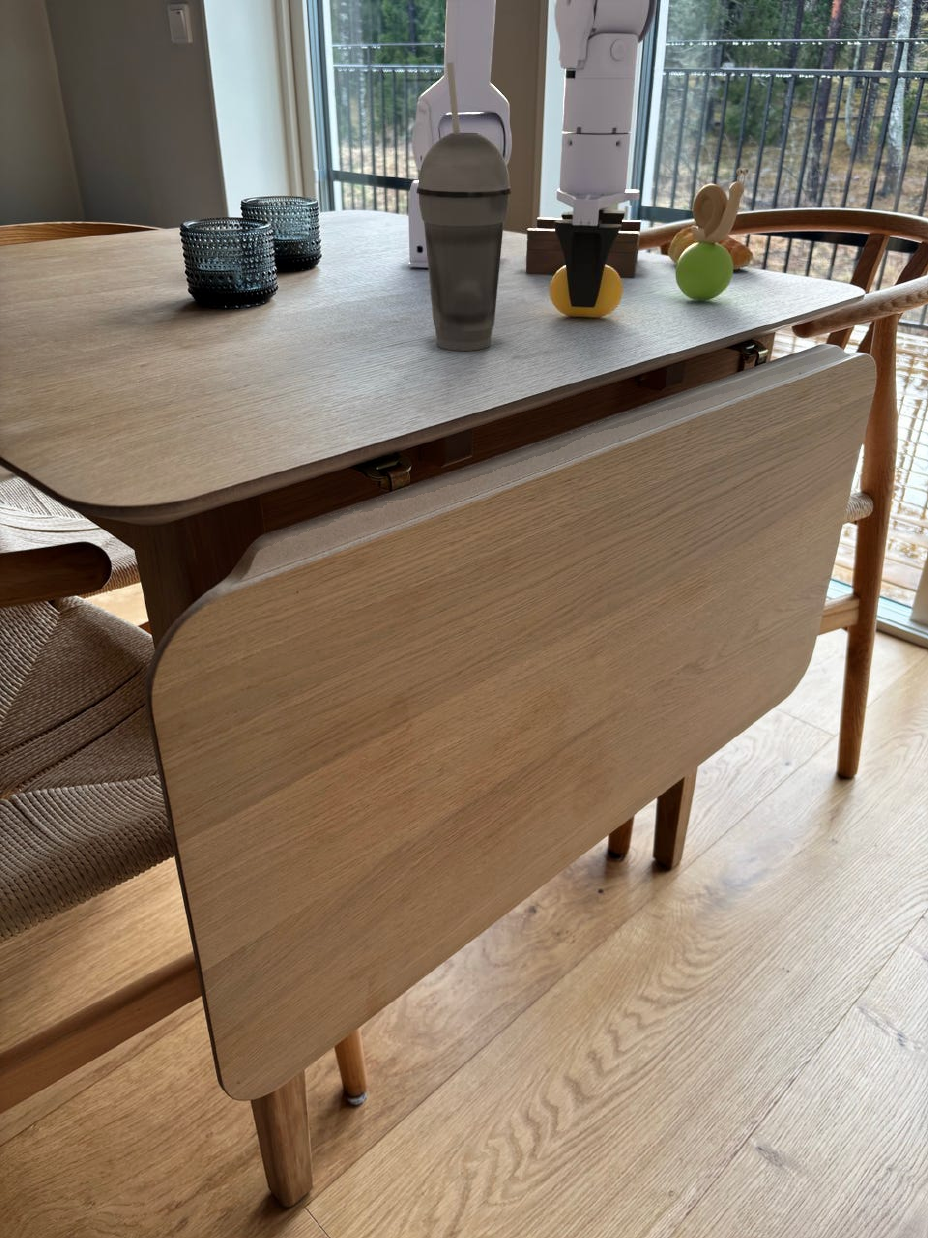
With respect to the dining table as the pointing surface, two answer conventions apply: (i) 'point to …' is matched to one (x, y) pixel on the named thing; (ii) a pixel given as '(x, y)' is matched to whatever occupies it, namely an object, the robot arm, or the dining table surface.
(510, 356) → the dining table surface
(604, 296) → the yellow oval piece
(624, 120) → the robot arm
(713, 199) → the snail figurine
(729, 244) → the pastry
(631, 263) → the brown blocks
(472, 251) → the beverage cup
